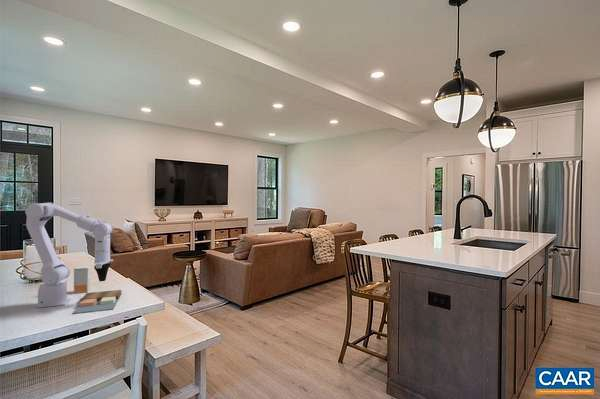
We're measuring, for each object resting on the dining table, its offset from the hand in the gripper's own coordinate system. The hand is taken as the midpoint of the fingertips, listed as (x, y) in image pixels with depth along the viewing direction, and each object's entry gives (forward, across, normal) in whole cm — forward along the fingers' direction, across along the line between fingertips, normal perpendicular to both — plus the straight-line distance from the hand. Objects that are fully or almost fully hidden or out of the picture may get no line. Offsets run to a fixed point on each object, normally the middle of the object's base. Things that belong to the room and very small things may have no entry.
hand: (102, 280), depth 138 cm
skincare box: (+10, +19, +12) cm, 24 cm away
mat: (+9, -6, +1) cm, 11 cm away
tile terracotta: (+9, -3, +4) cm, 10 cm away
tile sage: (+9, -3, -3) cm, 10 cm away
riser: (+9, +4, +1) cm, 10 cm away
